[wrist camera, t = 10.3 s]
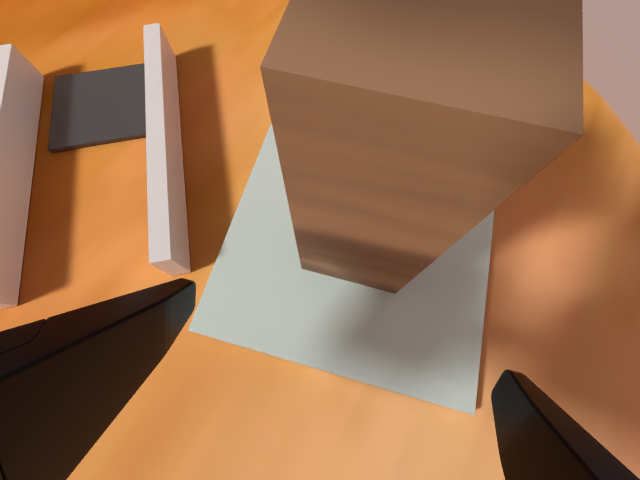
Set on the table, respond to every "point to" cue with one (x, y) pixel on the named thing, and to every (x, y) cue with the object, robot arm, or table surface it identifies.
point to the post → (415, 122)
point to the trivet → (347, 304)
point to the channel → (94, 129)
